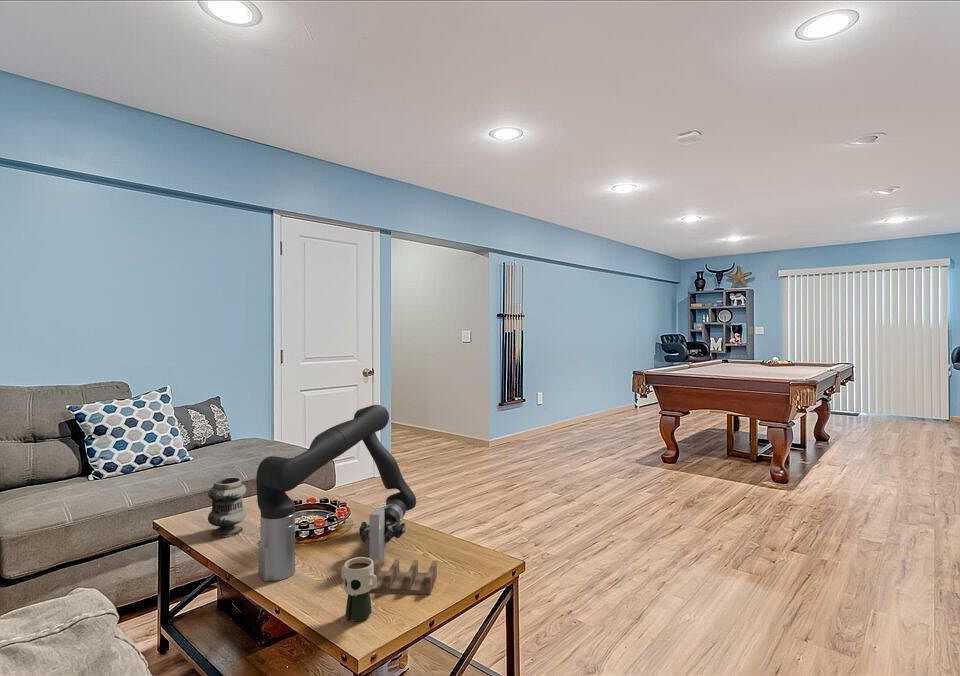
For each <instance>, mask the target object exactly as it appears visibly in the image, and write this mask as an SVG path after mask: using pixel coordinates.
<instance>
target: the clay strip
mask: <svg viewBox="0 0 960 676" xmlns="http://www.w3.org/2000/svg"><path fill="white" fill-rule="evenodd" d="M369 524H370V537H369V557H368V558H370V559H372V560H373V563H374V562H375V560H376V558H377V559H381V566H382V565H383V564H384V562H385V535H384V507H374V509H372V511H371V512H370V514H369Z"/></svg>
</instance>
